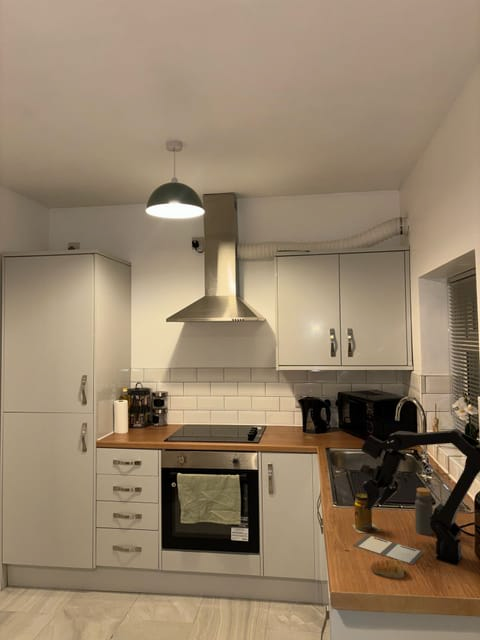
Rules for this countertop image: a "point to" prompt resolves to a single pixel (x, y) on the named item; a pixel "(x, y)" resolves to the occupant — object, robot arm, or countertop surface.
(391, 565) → the pastry
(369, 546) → the mat
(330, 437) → the countertop surface
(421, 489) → the bottle
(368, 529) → the condiment
